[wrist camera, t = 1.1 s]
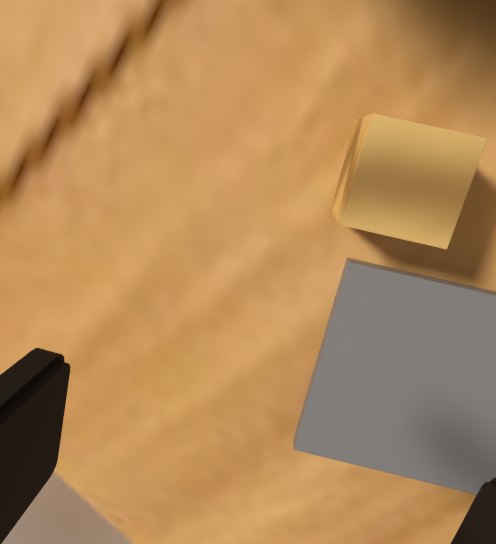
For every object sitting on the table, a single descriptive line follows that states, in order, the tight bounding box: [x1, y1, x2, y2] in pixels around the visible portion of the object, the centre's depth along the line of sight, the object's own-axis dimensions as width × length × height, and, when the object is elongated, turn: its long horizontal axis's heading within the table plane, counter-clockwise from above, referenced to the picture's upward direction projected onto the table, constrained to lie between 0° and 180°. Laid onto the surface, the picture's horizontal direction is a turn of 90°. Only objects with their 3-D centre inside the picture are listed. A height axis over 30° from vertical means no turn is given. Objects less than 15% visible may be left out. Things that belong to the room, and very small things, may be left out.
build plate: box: [294, 258, 496, 494], centre depth 31 cm, size 16×16×1 cm
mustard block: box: [331, 113, 488, 249], centre depth 25 cm, size 6×6×6 cm
